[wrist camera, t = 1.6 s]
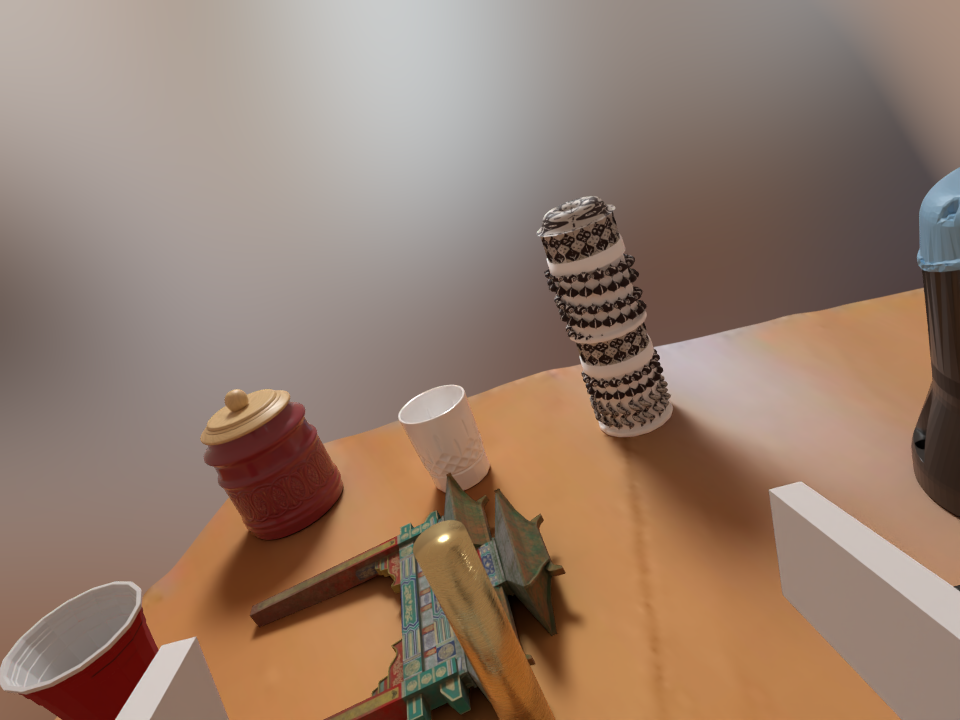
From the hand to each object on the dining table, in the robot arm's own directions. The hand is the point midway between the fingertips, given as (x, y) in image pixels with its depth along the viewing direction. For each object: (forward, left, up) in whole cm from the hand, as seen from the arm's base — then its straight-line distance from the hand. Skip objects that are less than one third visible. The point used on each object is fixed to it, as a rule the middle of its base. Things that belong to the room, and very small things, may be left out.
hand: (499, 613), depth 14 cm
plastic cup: (+30, -39, -27) cm, 57 cm away
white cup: (-5, -52, -27) cm, 59 cm away
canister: (+15, -64, -27) cm, 71 cm away
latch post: (+1, -17, -27) cm, 32 cm away
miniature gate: (+7, -34, -28) cm, 44 cm away
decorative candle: (-25, -46, -27) cm, 59 cm away
